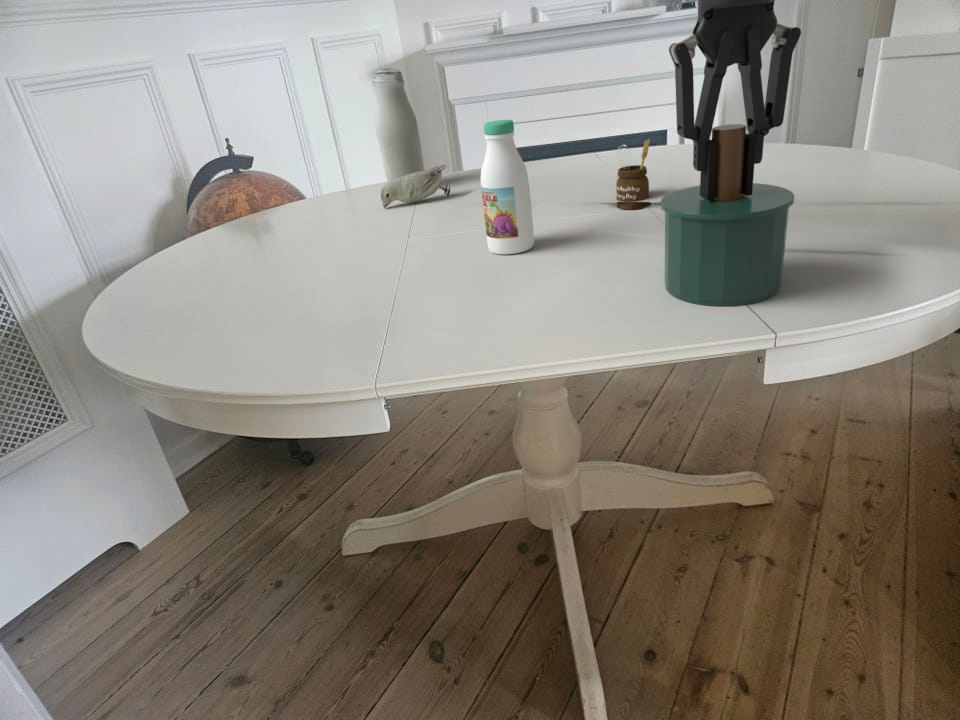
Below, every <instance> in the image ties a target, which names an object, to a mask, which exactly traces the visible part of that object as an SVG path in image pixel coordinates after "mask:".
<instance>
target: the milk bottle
mask: <svg viewBox="0 0 960 720" xmlns="http://www.w3.org/2000/svg"><path fill="white" fill-rule="evenodd" d="M483 134H484V139H486V150H485V156H484V159H483V163H482V167H481V171H480V188H481V189H480V192H481V199H482V209H483V218H484V226H485V235H486V242H487V248H488V250H489V252H491V253H493V254H496V255H514V254H519V253H523V252H527V251H529V250H531V249H532V248H533V247H534V244H535V234H534V222H533V213H532V212H533V211H532V200H531V199H532V198H531V190H530V182H529V181H530V180H529V175H528V171H527V167H526V165H525V162H524V160H523V159H522V157H521V155H520V153H519V151H518V149H517V146H516V144H515V139H514V136H515V124H514V121H513V120H512V119H497V120H492V121H488V122H485V123H483Z"/></svg>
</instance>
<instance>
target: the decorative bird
mask: <svg viewBox="0 0 960 720" xmlns="http://www.w3.org/2000/svg"><path fill="white" fill-rule="evenodd" d="M447 167H448V163H447V162H446V163H444V164H443V163H442V164H440V165H435V166H433V167H430V168H428V169H424V171H420V172H415V173H411V174H408V175H405V176H402V177H400V178H394V179H391V180H389V181H388V180H386V181H385V182H384V184H383V185H382V187H381V190H380V199H381V204H382V207H383V209H386V208H387V207H389V205H390V204H392V203H393V202H396V201H399V202H401V203H406V204H407V203H415V202H419V201H422V200H424V199H427V198H429V197H430V196H433V195H434V194H436V192H437V191H438V189H441V190H442V191H444V192H443V193H444V194H445V195H446V196H447V198H449V196H450V193H451V186H452V184H450V185H449V186H448V184H446V186H445V187H442V186H441V185H440V184H441V180H442V175H443V172H442V171H443V170H445V169H447Z"/></svg>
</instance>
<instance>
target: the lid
mask: <svg viewBox="0 0 960 720" xmlns="http://www.w3.org/2000/svg"><path fill="white" fill-rule="evenodd" d="M746 134H747V124H740V123H736V124H735V123H733V124H731V123H730V124H723V125H722V124H721V125H717V126H713V127H712V131H711V140H713V141H715V142H717V147H716V169H715V191H714V200H709V201H707V200H706V199H704V198H703V197H701V196H700V185H696V186H689V187H685V188H681V189H678V190H675V191H672V192H670V193H668V194H666V195H664V197H662V198H661V200H660V209H661V210H662V211H663V212H664V213H665V212H666V213H668V214H671V215H674V216H678V217H683V218H689V219H699V220H735V219H746V218H754V217H760V216H765V215H769V214H773V213H777V212H780V211H782V210H785V209H787V208H788V207H789V208H790V207H792V206H793V204H794V202H795V194H794V192H792V191H791V190H790V189H788V188H785V187H783V186H779V185H773V184H768V183H767V184H766V183H757V182H756V183H755V182H753V190H752V195H748V196H745V195H743V194H742V184H743V168H744V152H745V136H746Z"/></svg>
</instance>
